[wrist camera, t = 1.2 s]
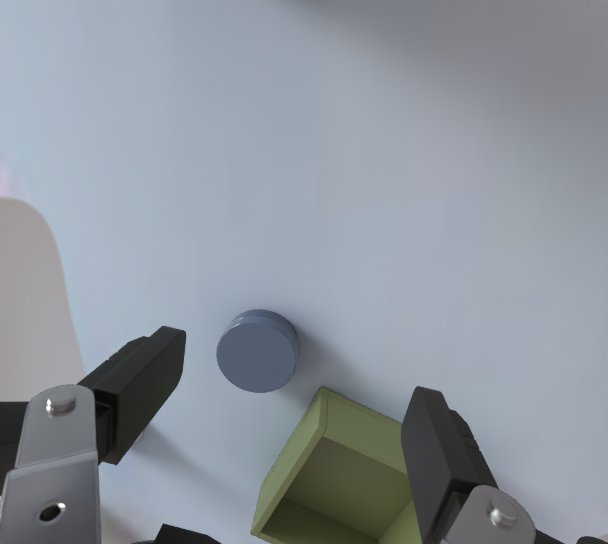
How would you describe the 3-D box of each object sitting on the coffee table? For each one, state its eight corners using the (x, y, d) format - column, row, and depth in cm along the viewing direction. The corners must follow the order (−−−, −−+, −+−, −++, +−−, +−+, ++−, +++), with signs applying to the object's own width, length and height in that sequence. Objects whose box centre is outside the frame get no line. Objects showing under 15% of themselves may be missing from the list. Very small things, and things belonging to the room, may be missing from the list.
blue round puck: (214, 356, 30) (205, 372, 28) (242, 296, 28) (233, 308, 26) (280, 386, 31) (275, 405, 28) (312, 330, 29) (309, 344, 26)
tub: (261, 484, 34) (249, 534, 30) (321, 385, 30) (318, 425, 26) (379, 537, 35) (386, 593, 31) (454, 448, 31) (474, 497, 26)
